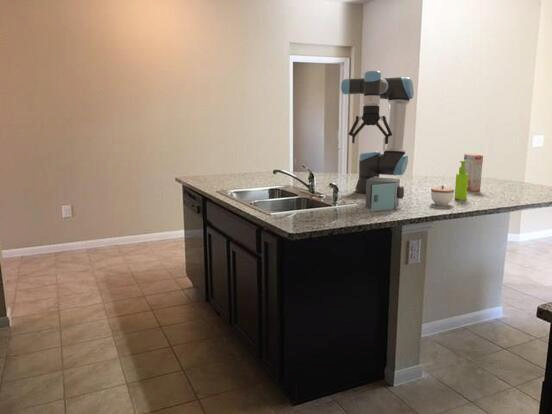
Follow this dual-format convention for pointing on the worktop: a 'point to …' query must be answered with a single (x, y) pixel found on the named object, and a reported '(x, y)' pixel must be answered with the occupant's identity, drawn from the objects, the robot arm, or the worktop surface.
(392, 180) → the small grey cabinet
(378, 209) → the side door
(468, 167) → the cracker box
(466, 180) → the soap dispenser
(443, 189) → the lidded jar
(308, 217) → the worktop surface
